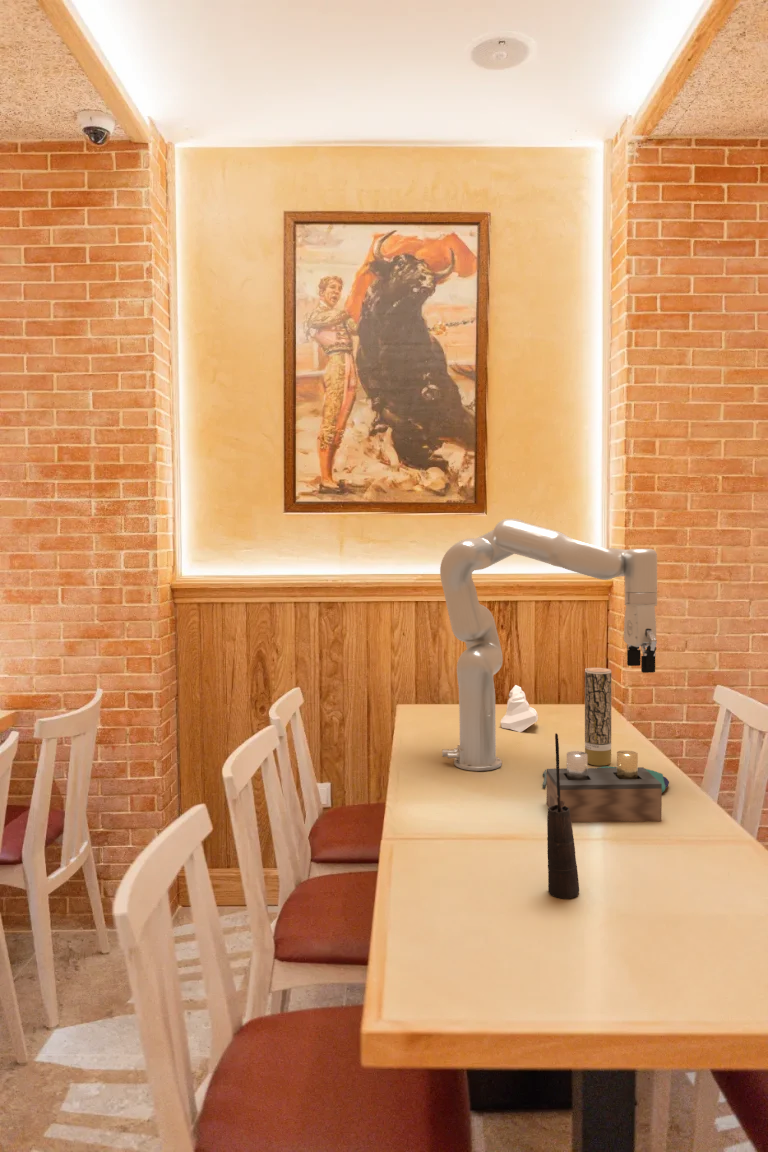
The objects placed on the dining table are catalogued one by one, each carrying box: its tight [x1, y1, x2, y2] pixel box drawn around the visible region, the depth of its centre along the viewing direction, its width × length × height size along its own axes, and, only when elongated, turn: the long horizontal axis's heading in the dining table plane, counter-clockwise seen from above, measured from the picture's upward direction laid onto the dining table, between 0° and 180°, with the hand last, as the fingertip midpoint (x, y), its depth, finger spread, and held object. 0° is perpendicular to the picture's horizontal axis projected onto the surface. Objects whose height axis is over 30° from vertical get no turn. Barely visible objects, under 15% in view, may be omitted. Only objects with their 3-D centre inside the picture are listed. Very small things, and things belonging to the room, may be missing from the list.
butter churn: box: [546, 732, 580, 900], centre depth 138 cm, size 9×10×28 cm
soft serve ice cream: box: [500, 684, 539, 733], centre depth 254 cm, size 12×15×14 cm
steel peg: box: [566, 750, 588, 780], centre depth 177 cm, size 4×4×7 cm
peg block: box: [546, 766, 663, 823], centre depth 177 cm, size 22×12×8 cm, turn 90°
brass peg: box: [616, 750, 639, 779], centre depth 177 cm, size 4×4×7 cm
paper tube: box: [584, 667, 612, 767], centre depth 213 cm, size 7×7×25 cm
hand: (640, 668), depth 197 cm, fingers open, 9 cm apart
